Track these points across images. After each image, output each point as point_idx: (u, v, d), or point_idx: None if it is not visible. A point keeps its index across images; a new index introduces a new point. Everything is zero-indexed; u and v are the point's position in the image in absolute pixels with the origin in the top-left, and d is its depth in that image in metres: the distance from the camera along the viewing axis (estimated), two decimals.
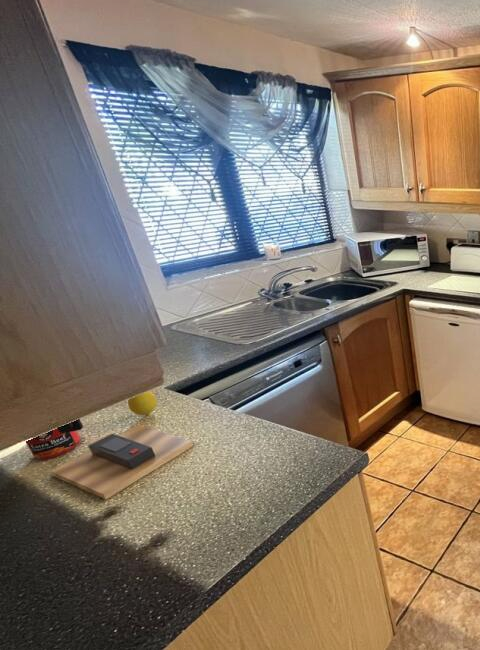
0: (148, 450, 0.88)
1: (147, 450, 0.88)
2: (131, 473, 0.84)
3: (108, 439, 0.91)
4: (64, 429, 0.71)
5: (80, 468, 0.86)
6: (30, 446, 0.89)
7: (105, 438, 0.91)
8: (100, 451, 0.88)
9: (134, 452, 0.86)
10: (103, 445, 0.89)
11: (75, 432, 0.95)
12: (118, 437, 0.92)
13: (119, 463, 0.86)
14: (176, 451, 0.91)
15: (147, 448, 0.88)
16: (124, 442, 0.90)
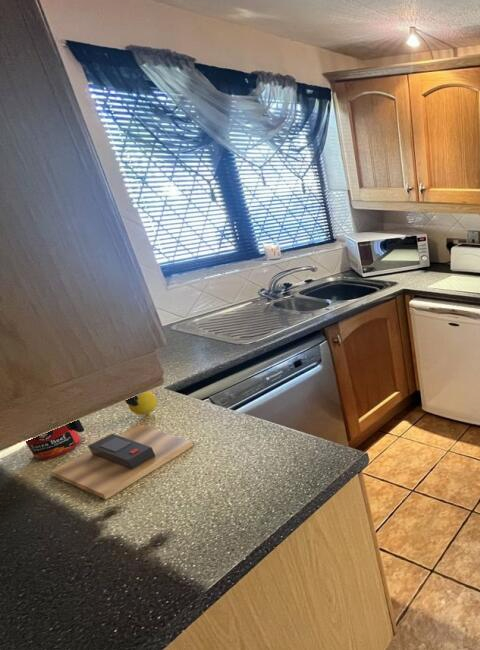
0: (148, 450, 0.88)
1: (147, 450, 0.88)
2: (131, 473, 0.84)
3: (108, 439, 0.91)
4: (69, 429, 0.80)
5: (80, 468, 0.86)
6: (30, 446, 0.89)
7: (105, 438, 0.91)
8: (100, 451, 0.88)
9: (134, 452, 0.86)
10: (103, 445, 0.89)
11: (75, 432, 0.95)
12: (118, 437, 0.92)
13: (119, 463, 0.86)
14: (176, 451, 0.91)
15: (147, 448, 0.88)
16: (124, 442, 0.90)
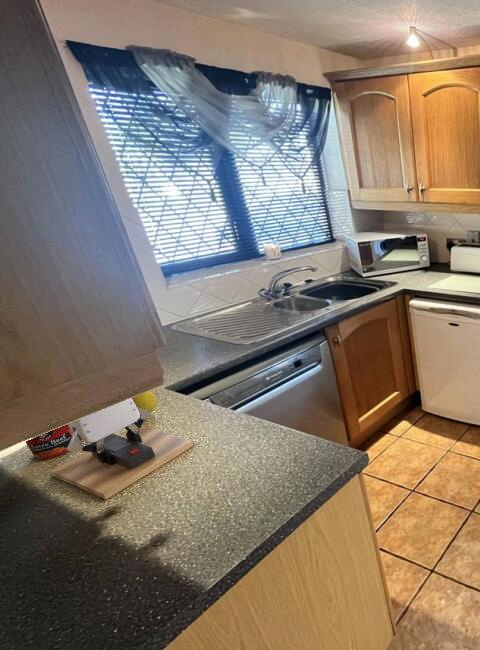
0: (148, 450, 0.88)
1: (147, 450, 0.88)
2: (131, 473, 0.84)
3: (108, 439, 0.91)
4: (101, 461, 0.86)
5: (80, 468, 0.86)
6: (30, 446, 0.89)
7: (105, 438, 0.91)
8: None
9: (134, 452, 0.86)
10: None
11: None
12: (118, 437, 0.92)
13: (119, 463, 0.86)
14: (176, 451, 0.91)
15: (147, 448, 0.88)
16: (124, 442, 0.90)
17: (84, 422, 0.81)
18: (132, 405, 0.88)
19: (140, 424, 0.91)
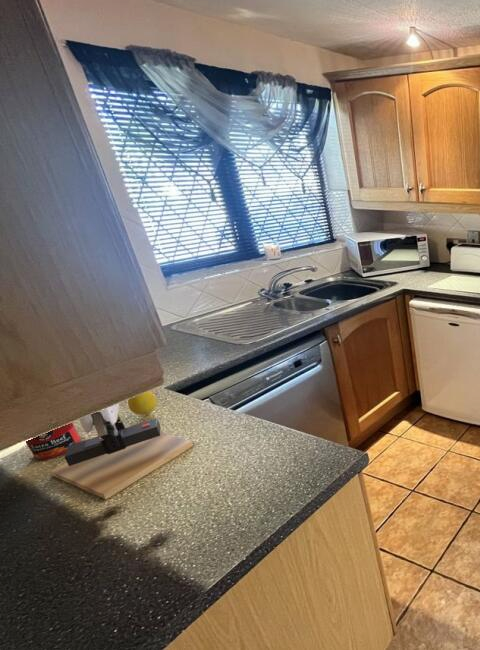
0: (157, 420, 0.93)
1: (157, 420, 0.93)
2: (131, 473, 0.84)
3: (79, 445, 0.85)
4: (113, 449, 0.85)
5: (80, 468, 0.86)
6: (30, 446, 0.89)
7: (71, 448, 0.84)
8: (95, 448, 0.84)
9: (148, 424, 0.91)
10: (89, 445, 0.84)
11: (75, 432, 0.95)
12: (89, 439, 0.86)
13: (136, 441, 0.89)
14: (176, 451, 0.91)
15: (154, 419, 0.93)
16: None
17: None
18: None
19: None
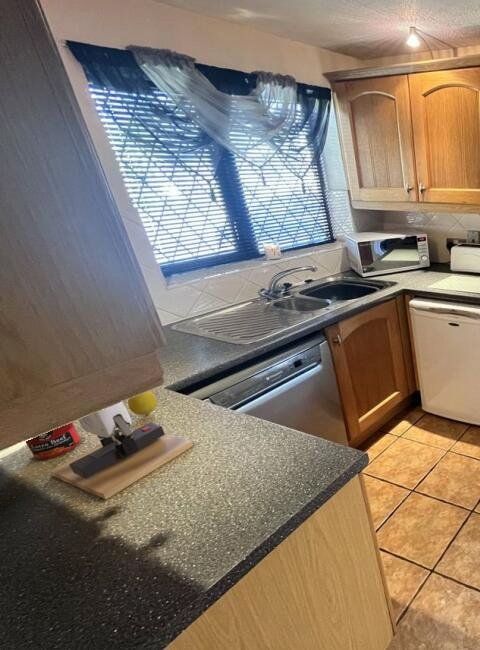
0: None
1: (152, 424, 0.95)
2: (131, 473, 0.84)
3: (85, 459, 0.84)
4: (129, 452, 0.88)
5: None
6: (30, 446, 0.89)
7: (77, 463, 0.83)
8: (109, 455, 0.85)
9: (149, 427, 0.93)
10: (100, 455, 0.85)
11: (75, 432, 0.95)
12: (90, 454, 0.85)
13: (144, 443, 0.91)
14: (176, 451, 0.91)
15: (149, 423, 0.95)
16: (113, 442, 0.88)
17: None
18: None
19: None
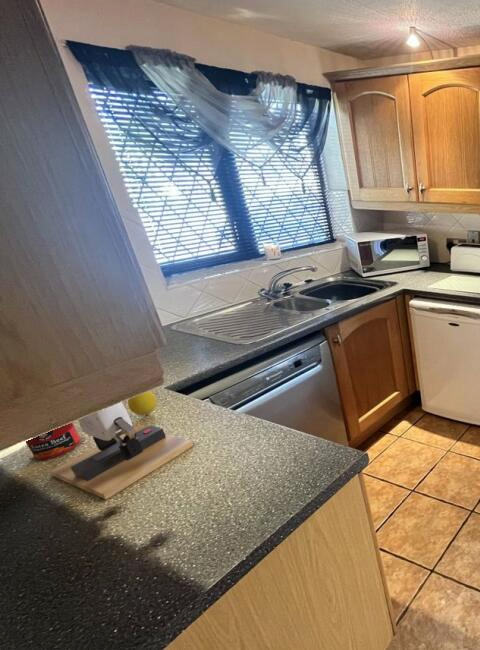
0: None
1: None
2: (131, 473, 0.84)
3: (86, 462, 0.84)
4: (134, 454, 0.87)
5: None
6: (30, 446, 0.89)
7: (79, 466, 0.83)
8: (111, 458, 0.86)
9: (150, 430, 0.94)
10: (101, 458, 0.85)
11: (75, 432, 0.95)
12: (91, 456, 0.86)
13: (145, 446, 0.91)
14: (176, 451, 0.91)
15: (150, 426, 0.95)
16: (114, 445, 0.89)
17: None
18: None
19: None
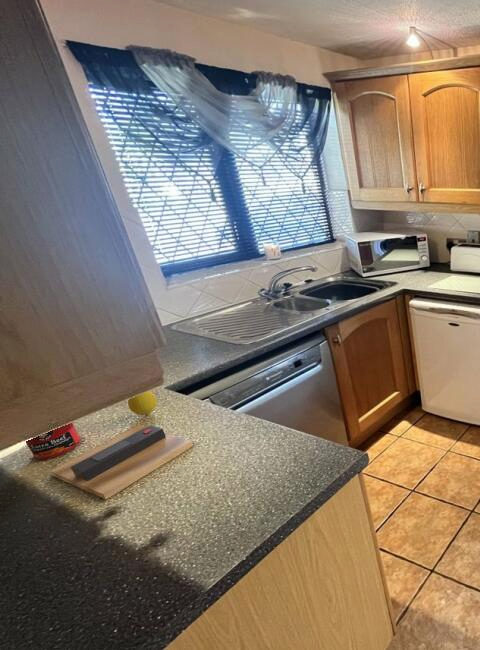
0: None
1: None
2: (131, 473, 0.84)
3: (86, 462, 0.84)
4: None
5: None
6: (30, 446, 0.89)
7: (79, 466, 0.83)
8: (111, 458, 0.86)
9: (150, 430, 0.94)
10: (101, 458, 0.85)
11: (75, 432, 0.95)
12: (91, 456, 0.86)
13: (145, 446, 0.91)
14: (176, 451, 0.91)
15: (150, 426, 0.95)
16: (114, 445, 0.89)
17: None
18: None
19: None
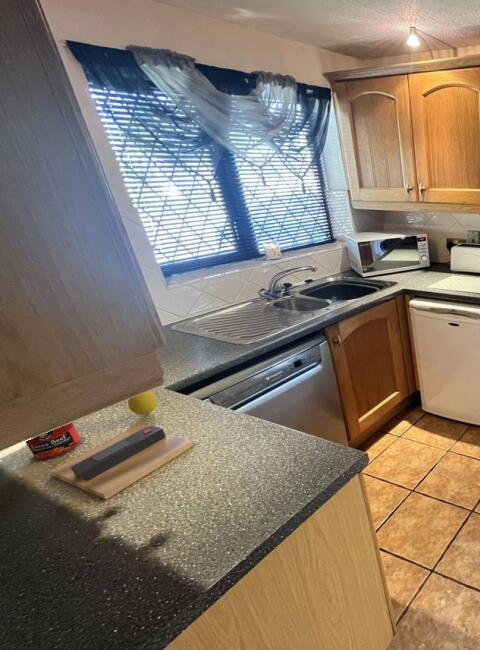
0: None
1: None
2: (131, 473, 0.84)
3: (86, 462, 0.84)
4: None
5: None
6: (30, 446, 0.89)
7: (79, 466, 0.83)
8: (111, 458, 0.86)
9: (150, 430, 0.94)
10: (101, 458, 0.85)
11: (75, 432, 0.95)
12: (91, 456, 0.86)
13: (145, 446, 0.91)
14: (176, 451, 0.91)
15: (150, 426, 0.95)
16: (114, 445, 0.89)
17: None
18: None
19: None
